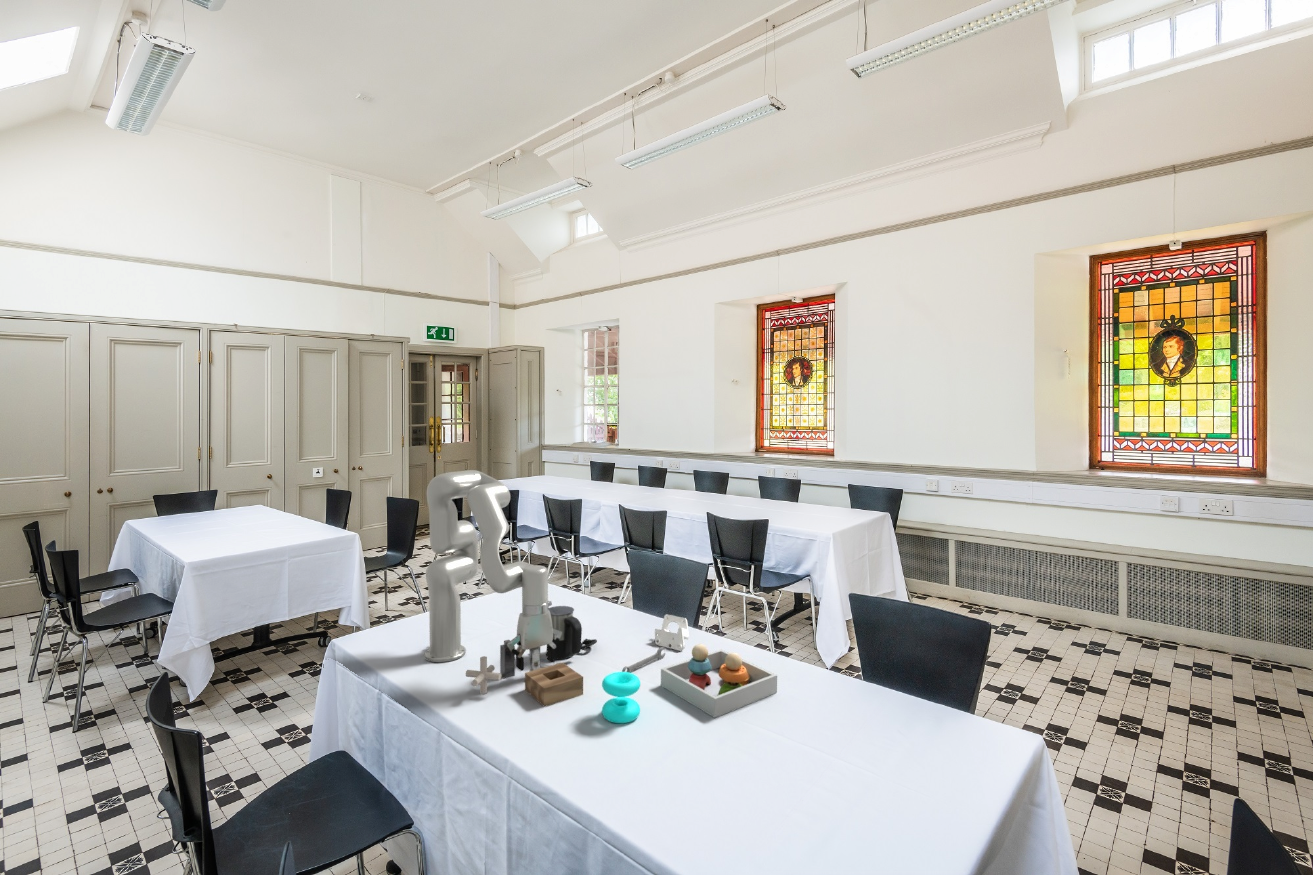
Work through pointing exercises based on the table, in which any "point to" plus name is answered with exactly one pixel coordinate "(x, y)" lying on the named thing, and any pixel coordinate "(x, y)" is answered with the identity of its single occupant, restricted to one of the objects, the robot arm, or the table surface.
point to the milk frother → (567, 633)
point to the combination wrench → (645, 661)
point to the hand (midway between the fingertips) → (535, 664)
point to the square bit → (507, 661)
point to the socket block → (553, 684)
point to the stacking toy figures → (728, 672)
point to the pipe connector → (483, 675)
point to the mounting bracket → (672, 638)
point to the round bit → (534, 659)
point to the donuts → (621, 697)
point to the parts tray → (726, 702)
